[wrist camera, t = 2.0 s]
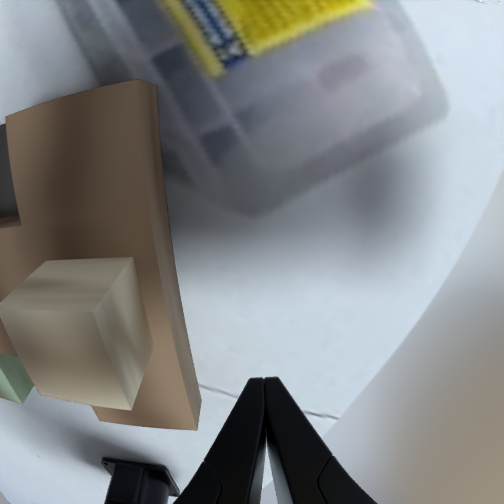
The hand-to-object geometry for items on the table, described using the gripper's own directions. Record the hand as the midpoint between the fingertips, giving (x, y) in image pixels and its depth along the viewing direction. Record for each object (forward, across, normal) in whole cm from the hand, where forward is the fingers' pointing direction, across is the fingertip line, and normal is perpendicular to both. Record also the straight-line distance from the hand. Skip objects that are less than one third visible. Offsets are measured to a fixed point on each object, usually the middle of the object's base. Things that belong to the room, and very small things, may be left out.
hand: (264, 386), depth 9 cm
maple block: (+5, +7, 0) cm, 9 cm away
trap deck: (+7, +14, 0) cm, 16 cm away
